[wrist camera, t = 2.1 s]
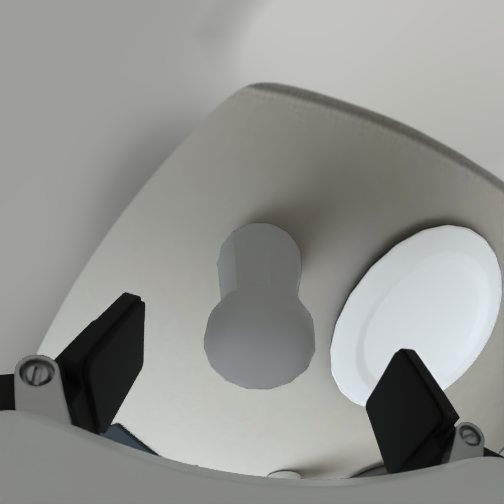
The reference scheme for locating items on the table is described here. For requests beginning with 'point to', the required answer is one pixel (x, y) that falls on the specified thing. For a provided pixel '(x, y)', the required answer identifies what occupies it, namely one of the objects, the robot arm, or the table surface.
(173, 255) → the table surface
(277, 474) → the drinking glass
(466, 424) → the robot arm
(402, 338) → the plate
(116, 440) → the mat
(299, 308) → the salt shaker
